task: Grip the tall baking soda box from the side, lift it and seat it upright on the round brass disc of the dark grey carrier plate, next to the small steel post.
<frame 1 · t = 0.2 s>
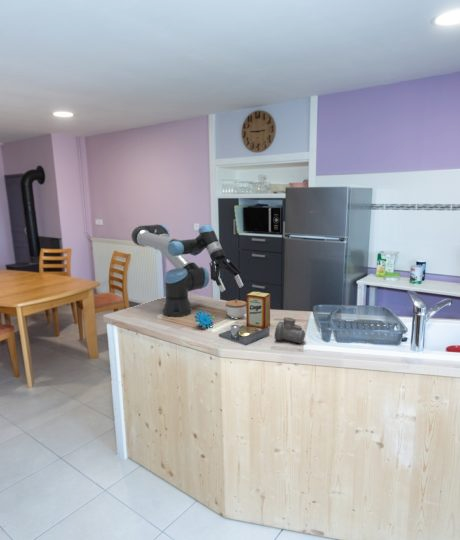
hand: (232, 288, 196), 15 cm above the countertop, fingers open, 13 cm apart
lidded jar: (236, 317, 200), on the countertop
baking soda box: (258, 326, 186), on the countertop
pipe fitting: (289, 341, 166), on the countertop
gear: (205, 327, 186), on the countertop
carrier plate: (244, 335, 173), on the countertop
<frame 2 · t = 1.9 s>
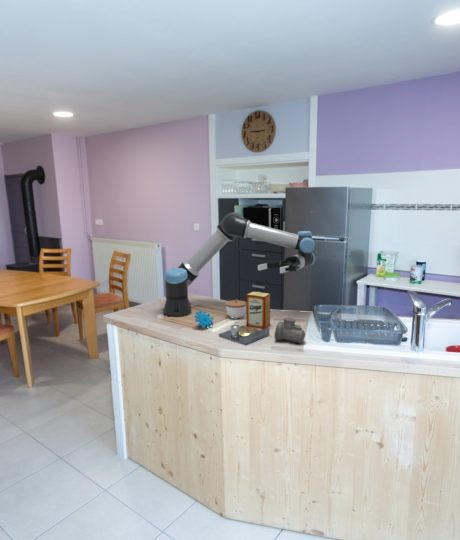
hand: (269, 269, 188), 26 cm above the countertop, fingers open, 13 cm apart
nothing on the countertop moved.
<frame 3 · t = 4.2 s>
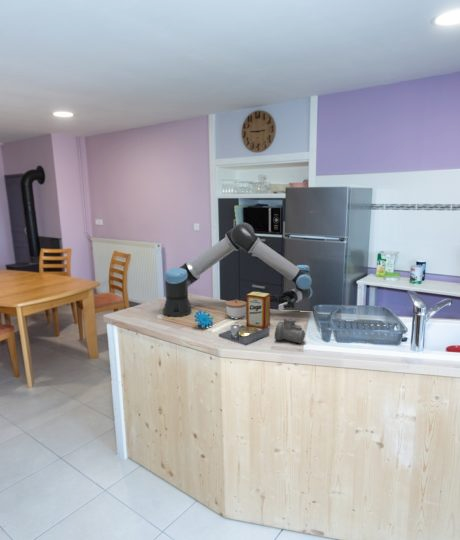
hand: (267, 305, 189), 9 cm above the countertop, fingers open, 13 cm apart
nothing on the countertop moved.
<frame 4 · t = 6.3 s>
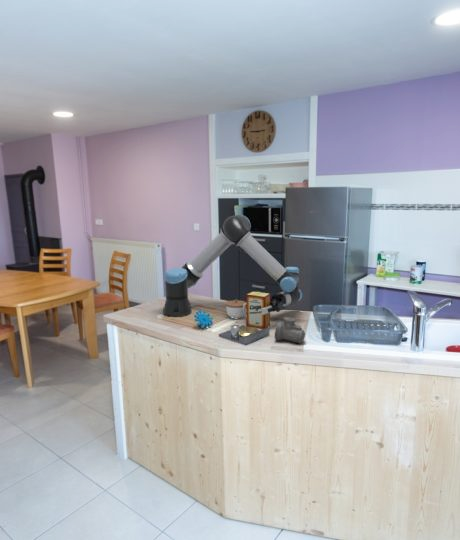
hand: (252, 309, 182), 9 cm above the countertop, fingers closed on baking soda box, 11 cm apart
baking soda box: (258, 326, 186), on the countertop, touching gripper
everything else where it was.
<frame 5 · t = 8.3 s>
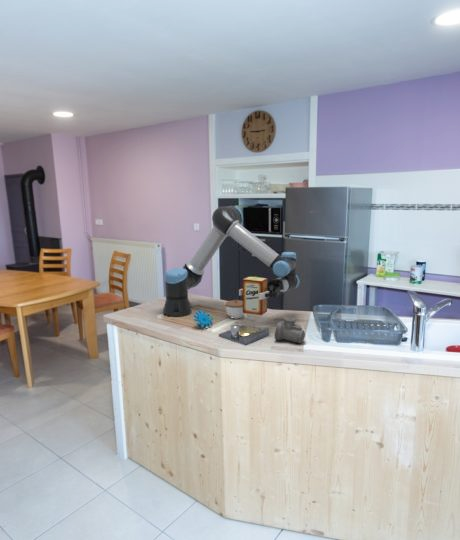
hand: (249, 294, 174), 18 cm above the countertop, fingers closed on baking soda box, 11 cm apart
baking soda box: (254, 312, 179), point 8 cm above the countertop, touching gripper
everything else where it was.
when the fingers open (12 cm above the countertop, at t = 10.5 s): baking soda box drops 1 cm, resting on carrier plate.
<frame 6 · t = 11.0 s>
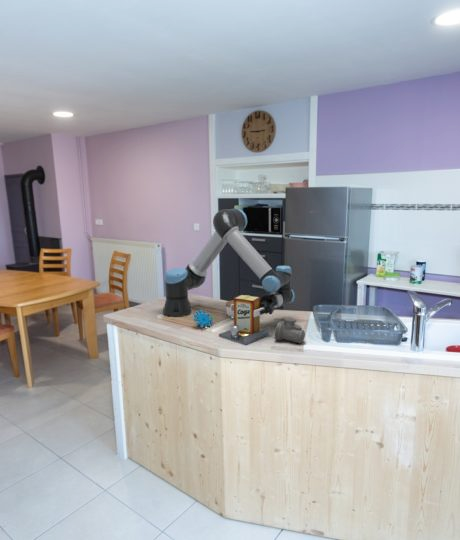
hand: (242, 310, 170), 12 cm above the countertop, fingers open, 13 cm apart
baking soda box: (246, 331, 174), point 1 cm above the countertop, touching carrier plate
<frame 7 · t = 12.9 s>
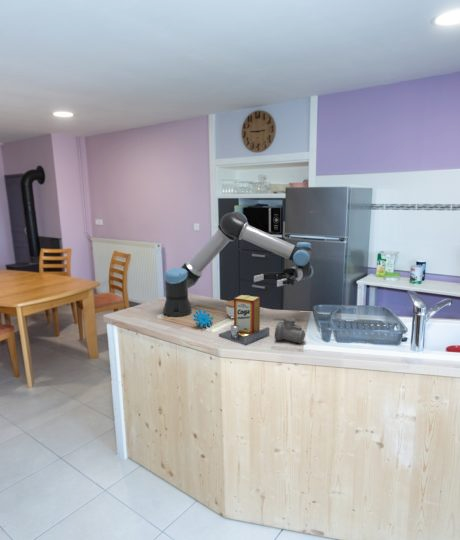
hand: (265, 281, 180), 22 cm above the countertop, fingers open, 13 cm apart
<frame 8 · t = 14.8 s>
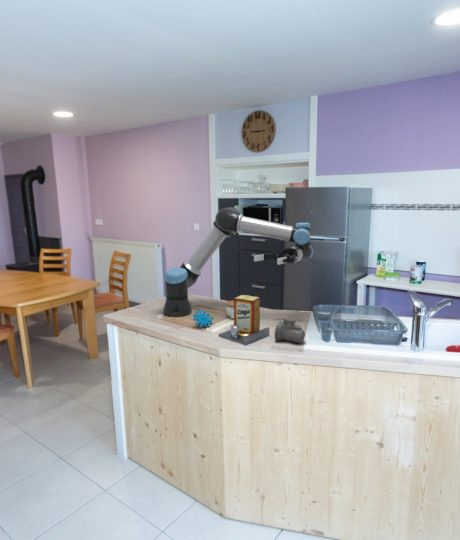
hand: (265, 260, 180), 32 cm above the countertop, fingers open, 13 cm apart
at the end: baking soda box inside the target area (0.1 cm from its centre), point 1.2 cm above the countertop; baking soda box tilted 0°; the gripper is holding nothing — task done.
